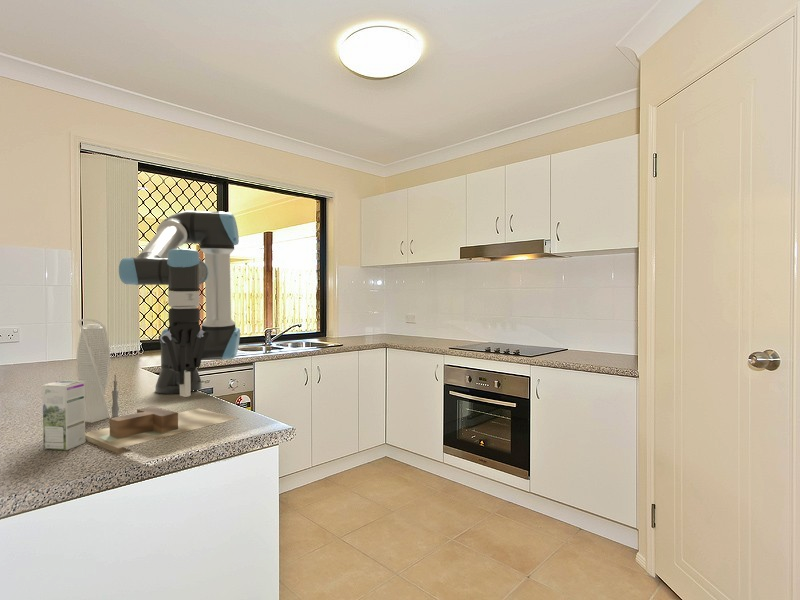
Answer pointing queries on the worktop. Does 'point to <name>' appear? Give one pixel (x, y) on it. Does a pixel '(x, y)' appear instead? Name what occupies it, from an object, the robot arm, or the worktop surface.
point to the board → (185, 423)
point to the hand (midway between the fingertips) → (185, 395)
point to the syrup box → (63, 415)
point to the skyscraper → (95, 371)
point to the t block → (144, 422)
